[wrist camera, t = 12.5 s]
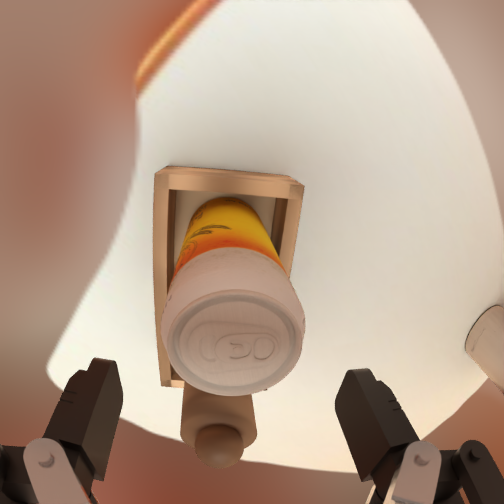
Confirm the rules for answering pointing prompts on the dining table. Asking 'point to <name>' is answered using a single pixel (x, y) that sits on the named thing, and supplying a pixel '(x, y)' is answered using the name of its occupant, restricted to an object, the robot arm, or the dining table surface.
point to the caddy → (164, 262)
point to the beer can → (231, 304)
